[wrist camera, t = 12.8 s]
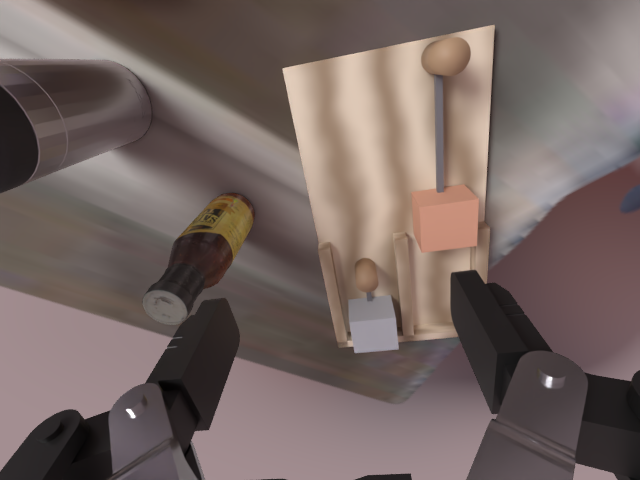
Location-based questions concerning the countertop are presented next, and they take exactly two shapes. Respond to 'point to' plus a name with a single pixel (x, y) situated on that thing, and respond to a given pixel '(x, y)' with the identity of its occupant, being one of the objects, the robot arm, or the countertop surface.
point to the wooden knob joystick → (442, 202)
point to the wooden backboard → (391, 173)
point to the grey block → (371, 313)
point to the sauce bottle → (200, 257)
